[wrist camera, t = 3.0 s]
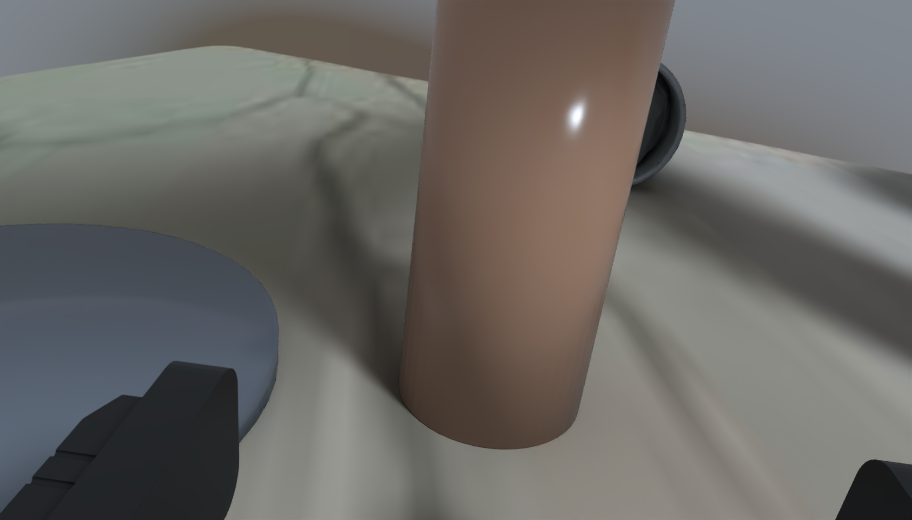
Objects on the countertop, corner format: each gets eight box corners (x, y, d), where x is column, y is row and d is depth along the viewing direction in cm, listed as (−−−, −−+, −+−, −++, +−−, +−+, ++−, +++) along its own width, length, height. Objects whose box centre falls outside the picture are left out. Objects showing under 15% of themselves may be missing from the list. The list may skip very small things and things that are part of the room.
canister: (530, 333, 25) (598, -27, 20) (613, 433, 21) (728, 0, 16) (378, 347, 23) (411, -47, 18) (431, 463, 19) (495, -23, 14)
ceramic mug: (651, 157, 48) (677, 41, 45) (669, 198, 41) (702, 62, 38) (496, 137, 49) (511, 21, 46) (486, 173, 42) (503, 38, 39)
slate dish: (251, 245, 29) (251, 218, 29) (318, 517, 17) (320, 478, 16) (-215, 263, 24) (-226, 230, 23) (-632, 685, 11) (-675, 634, 11)
